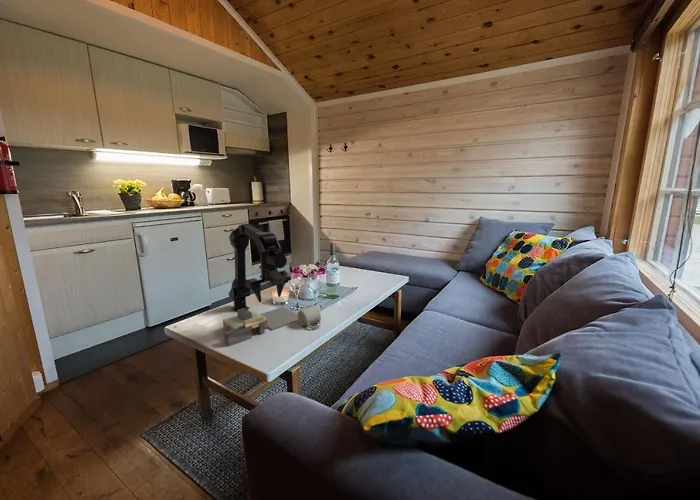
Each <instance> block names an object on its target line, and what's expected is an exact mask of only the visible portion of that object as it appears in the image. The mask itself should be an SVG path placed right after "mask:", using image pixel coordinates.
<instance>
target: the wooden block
mask: <svg viewBox="0 0 700 500" xmlns="http://www.w3.org/2000/svg"><path fill="white" fill-rule="evenodd" d="M261 322H264V317H262V316H261V315H260V316H257V317H254V318H251V319H248V320H245V321H243V326H244V327H246V328H247V327H250V326H253V325H256V324H258V323H261Z"/></svg>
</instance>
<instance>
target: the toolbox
mask: <svg viewBox="0 0 700 500" xmlns="http://www.w3.org/2000/svg"><path fill="white" fill-rule="evenodd" d="M258 324H259V326H258V327H255V328H251V327H247V328H246V327H244V326H242V327H239V328H236V329H233V328H232V327H230V326H229V325H227V324H226V323H225V322H223V321H222V325H223V330H224V341H225V345H227V346H228V347H230V346H231V347H232V346H234V345H236V344H240V343H242V342H244V341H246V340H249V339H250V340H251V339H253V336H252V335H254V334H258V335H260V336H261V335H263V334H265V333H266V331H265V330H268V328H267V320H266V321H264V322H261V323H258Z"/></svg>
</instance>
